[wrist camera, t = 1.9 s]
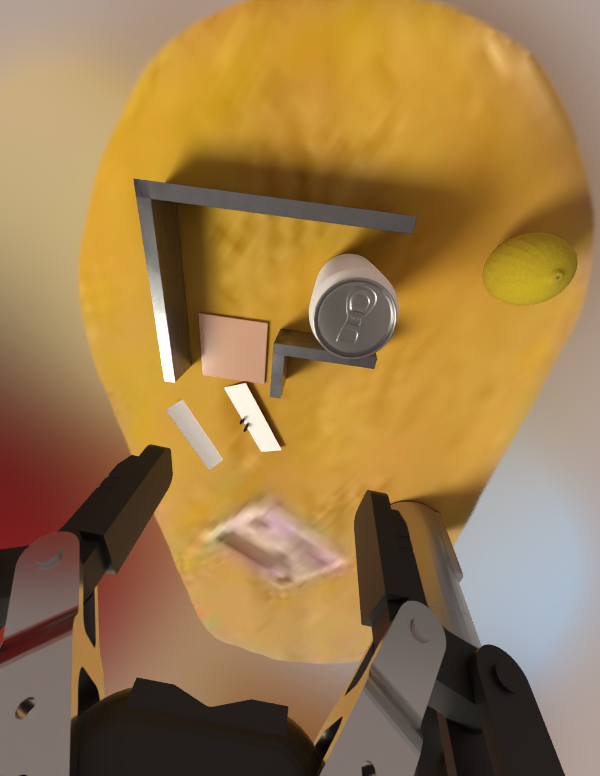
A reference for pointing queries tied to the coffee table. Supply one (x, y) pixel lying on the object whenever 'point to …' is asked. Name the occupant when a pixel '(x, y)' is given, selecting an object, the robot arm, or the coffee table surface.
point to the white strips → (249, 416)
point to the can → (352, 307)
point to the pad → (233, 348)
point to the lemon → (530, 268)
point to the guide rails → (168, 271)
